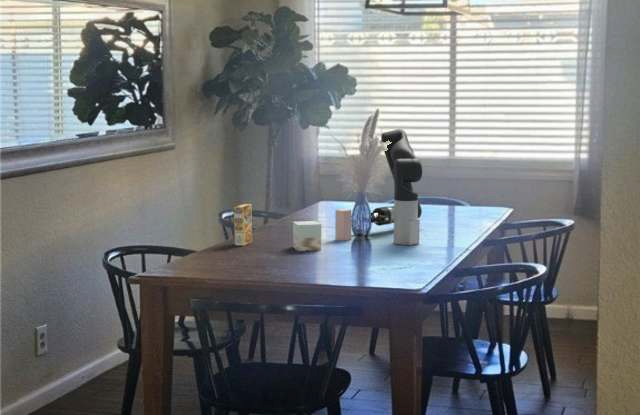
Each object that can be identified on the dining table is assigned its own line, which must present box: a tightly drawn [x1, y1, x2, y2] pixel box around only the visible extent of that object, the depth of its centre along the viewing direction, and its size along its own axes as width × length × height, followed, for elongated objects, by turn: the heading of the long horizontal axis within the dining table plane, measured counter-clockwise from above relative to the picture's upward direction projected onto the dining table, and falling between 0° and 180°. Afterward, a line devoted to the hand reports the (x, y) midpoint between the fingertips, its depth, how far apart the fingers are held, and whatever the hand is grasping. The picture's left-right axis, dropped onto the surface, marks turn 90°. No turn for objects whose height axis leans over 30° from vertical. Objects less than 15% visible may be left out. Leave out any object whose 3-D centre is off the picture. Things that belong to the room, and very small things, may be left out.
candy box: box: [233, 203, 253, 247], centre depth 373 cm, size 9×4×15 cm, turn 163°
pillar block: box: [334, 208, 352, 241], centre depth 383 cm, size 4×4×12 cm
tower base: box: [292, 234, 322, 252], centre depth 363 cm, size 9×9×5 cm
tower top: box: [292, 220, 322, 238], centre depth 363 cm, size 9×9×5 cm
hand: (359, 219), depth 390 cm, fingers open, 8 cm apart
